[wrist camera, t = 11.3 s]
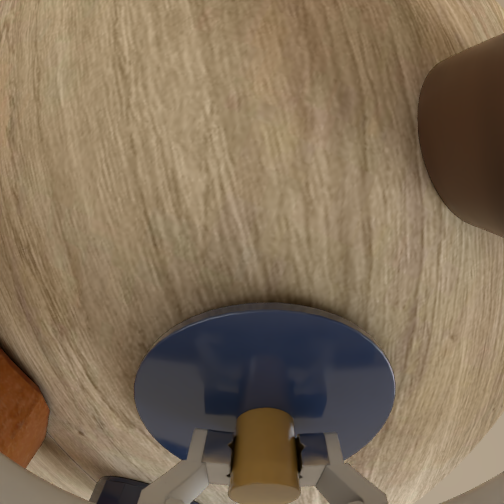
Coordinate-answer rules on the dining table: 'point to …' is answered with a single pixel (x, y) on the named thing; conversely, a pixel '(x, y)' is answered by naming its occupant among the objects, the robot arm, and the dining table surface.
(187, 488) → the robot arm
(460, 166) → the stand
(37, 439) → the bread
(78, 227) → the dining table surface
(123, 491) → the pot
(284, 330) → the pot lid
